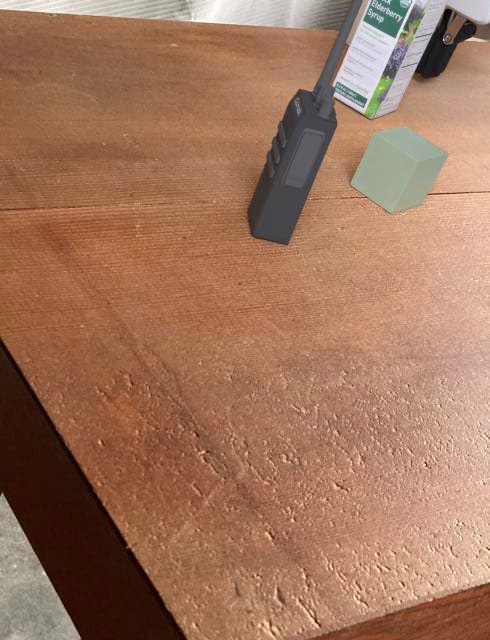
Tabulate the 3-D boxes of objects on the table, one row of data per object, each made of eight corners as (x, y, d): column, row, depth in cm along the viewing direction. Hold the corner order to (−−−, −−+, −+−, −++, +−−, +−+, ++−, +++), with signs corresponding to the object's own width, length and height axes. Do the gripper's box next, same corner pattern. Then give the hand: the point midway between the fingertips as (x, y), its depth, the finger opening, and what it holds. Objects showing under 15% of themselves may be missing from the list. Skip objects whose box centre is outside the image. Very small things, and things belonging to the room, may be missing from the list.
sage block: (422, 205, 89) (449, 153, 86) (390, 214, 86) (417, 161, 83) (381, 176, 91) (406, 125, 88) (349, 184, 89) (373, 131, 85)
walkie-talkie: (243, 208, 81) (346, -58, 66) (282, 217, 81) (392, -45, 67) (248, 238, 77) (357, -34, 63) (288, 248, 78) (406, -20, 64)
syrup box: (325, 95, 102) (390, -59, 91) (354, 86, 105) (418, -63, 95) (370, 121, 100) (441, -32, 89) (397, 111, 103) (468, -37, 93)
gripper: (594, -79, 96) (495, 103, 110) (475, -138, 103) (394, 41, 116) (558, -79, 92) (459, 110, 105) (436, -141, 98) (357, 46, 112)
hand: (426, 74), depth 111 cm, fingers closed
